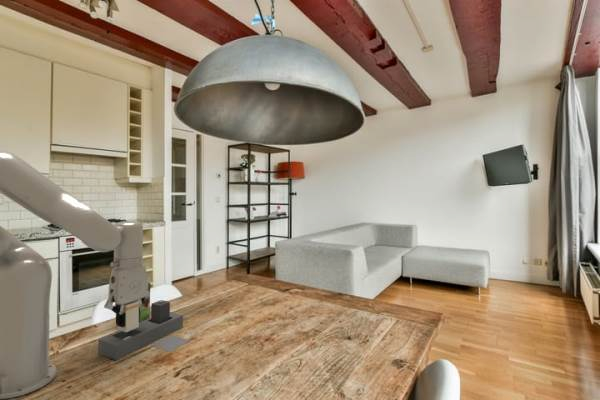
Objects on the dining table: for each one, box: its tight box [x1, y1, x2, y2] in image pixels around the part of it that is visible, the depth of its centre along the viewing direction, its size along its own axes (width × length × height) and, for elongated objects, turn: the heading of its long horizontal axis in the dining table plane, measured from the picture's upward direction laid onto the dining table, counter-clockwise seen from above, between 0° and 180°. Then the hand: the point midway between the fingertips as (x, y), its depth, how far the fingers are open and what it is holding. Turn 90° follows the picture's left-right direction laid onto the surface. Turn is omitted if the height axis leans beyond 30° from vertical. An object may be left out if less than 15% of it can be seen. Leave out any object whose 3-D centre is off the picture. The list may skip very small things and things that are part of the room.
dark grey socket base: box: [97, 311, 184, 361], centre depth 96 cm, size 24×8×4 cm, turn 156°
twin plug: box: [150, 299, 171, 324], centre depth 102 cm, size 4×4×9 cm
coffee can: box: [139, 281, 152, 322], centre depth 107 cm, size 10×10×14 cm
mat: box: [151, 334, 191, 353], centre depth 94 cm, size 8×8×1 cm
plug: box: [116, 300, 139, 332], centre depth 91 cm, size 4×4×9 cm
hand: (128, 322), depth 91 cm, fingers closed on plug, 4 cm apart
